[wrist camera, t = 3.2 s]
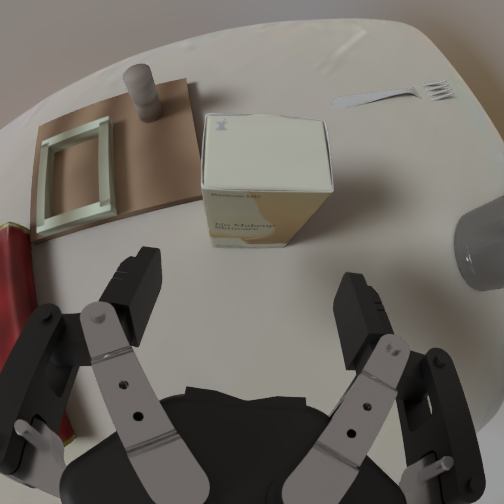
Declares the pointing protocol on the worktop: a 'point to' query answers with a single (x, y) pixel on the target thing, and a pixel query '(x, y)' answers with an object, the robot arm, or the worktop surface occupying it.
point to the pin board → (115, 158)
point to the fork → (385, 95)
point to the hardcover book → (19, 297)
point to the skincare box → (263, 177)
